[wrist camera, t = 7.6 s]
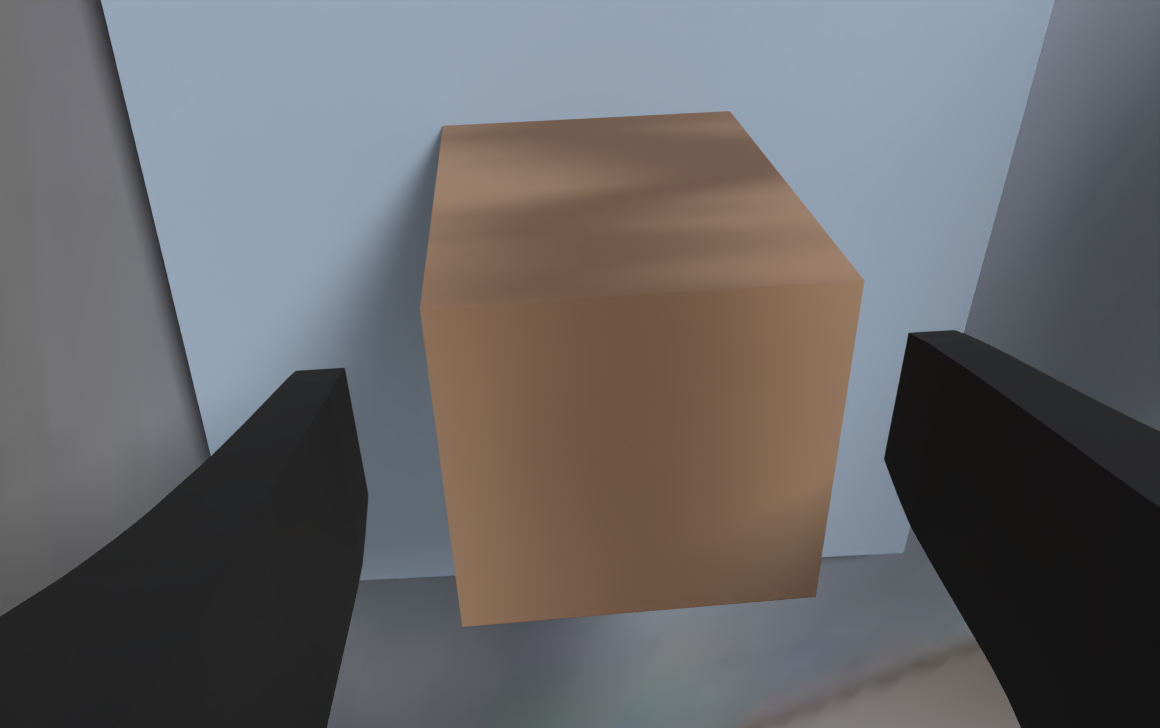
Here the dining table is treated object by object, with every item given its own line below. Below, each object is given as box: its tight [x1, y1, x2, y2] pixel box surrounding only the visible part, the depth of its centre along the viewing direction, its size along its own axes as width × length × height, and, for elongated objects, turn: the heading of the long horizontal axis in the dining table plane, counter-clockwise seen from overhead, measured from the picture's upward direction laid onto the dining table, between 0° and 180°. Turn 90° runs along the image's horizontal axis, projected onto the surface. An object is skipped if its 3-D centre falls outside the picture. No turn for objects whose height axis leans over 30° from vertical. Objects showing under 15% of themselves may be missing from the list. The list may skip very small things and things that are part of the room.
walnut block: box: [420, 111, 864, 627], centre depth 13 cm, size 4×4×6 cm
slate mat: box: [101, 0, 1055, 580], centre depth 16 cm, size 14×14×1 cm
